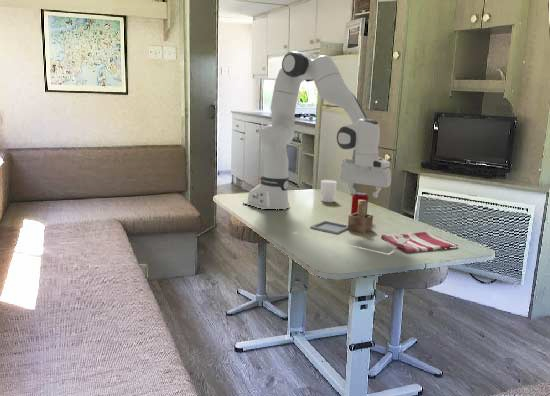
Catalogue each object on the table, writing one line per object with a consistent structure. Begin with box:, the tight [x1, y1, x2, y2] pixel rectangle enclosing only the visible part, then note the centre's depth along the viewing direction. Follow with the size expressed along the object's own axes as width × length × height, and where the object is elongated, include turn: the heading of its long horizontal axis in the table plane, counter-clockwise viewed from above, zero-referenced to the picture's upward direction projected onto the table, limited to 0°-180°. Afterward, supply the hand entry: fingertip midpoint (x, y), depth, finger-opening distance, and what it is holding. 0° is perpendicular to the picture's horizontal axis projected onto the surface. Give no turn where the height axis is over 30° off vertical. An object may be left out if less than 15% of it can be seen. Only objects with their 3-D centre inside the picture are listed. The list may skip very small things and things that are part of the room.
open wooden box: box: [347, 212, 374, 234], centre depth 202 cm, size 7×7×7 cm
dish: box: [309, 220, 349, 235], centre depth 203 cm, size 12×12×1 cm
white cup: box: [320, 179, 338, 203], centre depth 254 cm, size 8×8×10 cm
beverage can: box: [350, 191, 369, 215], centre depth 219 cm, size 7×7×12 cm
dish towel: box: [380, 231, 459, 254], centre depth 190 cm, size 17×23×3 cm
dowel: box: [357, 200, 367, 218], centre depth 201 cm, size 3×3×12 cm
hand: (363, 195), depth 199 cm, fingers open, 8 cm apart
